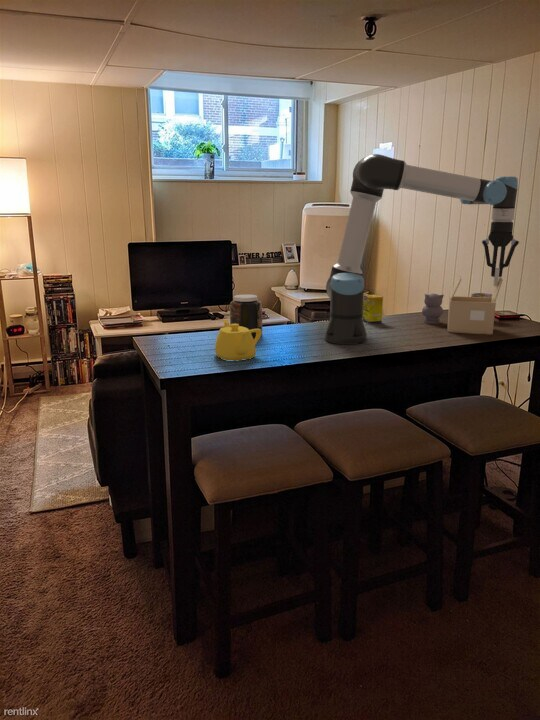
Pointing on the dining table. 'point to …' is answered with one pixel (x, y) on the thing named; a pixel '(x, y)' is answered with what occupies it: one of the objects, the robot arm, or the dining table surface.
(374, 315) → the supplement box
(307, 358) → the dining table surface
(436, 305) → the cat figurine
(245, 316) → the jar
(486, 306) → the carton
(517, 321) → the dining table surface
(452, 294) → the flap
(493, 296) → the flap
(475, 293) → the mug
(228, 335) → the teapot
